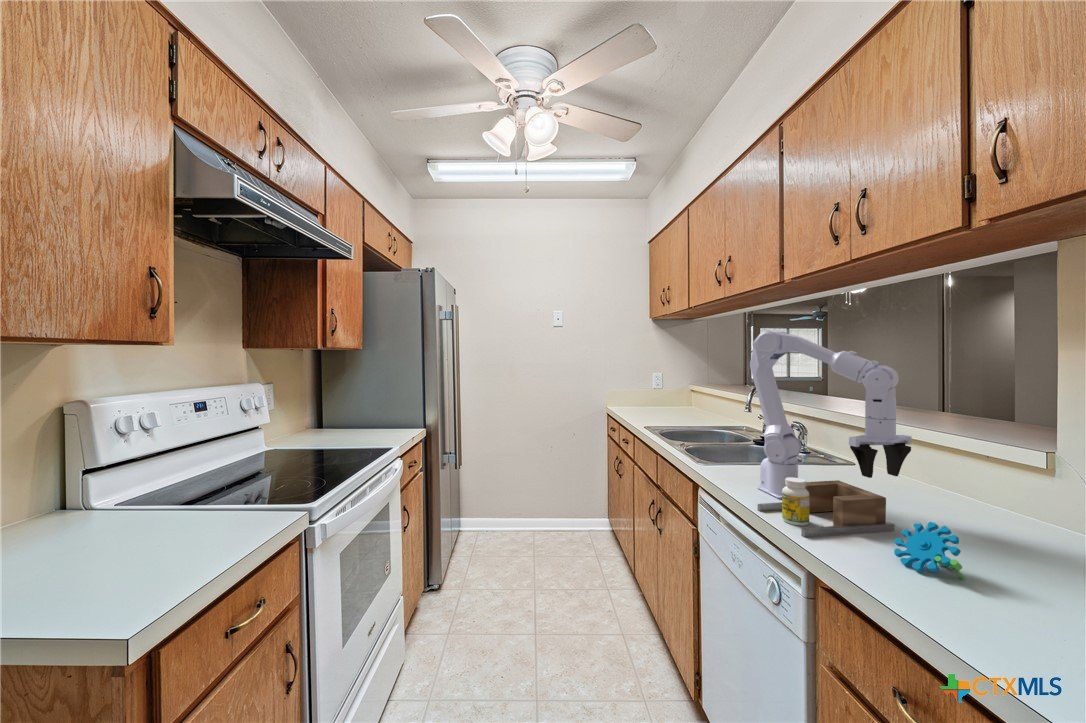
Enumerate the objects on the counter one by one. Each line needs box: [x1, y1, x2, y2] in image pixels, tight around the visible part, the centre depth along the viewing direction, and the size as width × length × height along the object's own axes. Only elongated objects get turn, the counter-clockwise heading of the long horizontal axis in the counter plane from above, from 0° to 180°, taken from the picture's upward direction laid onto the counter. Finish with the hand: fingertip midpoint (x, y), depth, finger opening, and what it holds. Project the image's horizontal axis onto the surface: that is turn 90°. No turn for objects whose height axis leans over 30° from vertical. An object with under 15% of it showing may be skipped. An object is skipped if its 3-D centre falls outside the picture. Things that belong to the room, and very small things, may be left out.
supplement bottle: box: [781, 477, 810, 527], centre depth 100 cm, size 5×5×10 cm
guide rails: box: [757, 501, 895, 538], centre depth 101 cm, size 16×21×2 cm
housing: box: [804, 479, 887, 526], centre depth 101 cm, size 13×10×6 cm
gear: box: [893, 521, 966, 581], centre depth 78 cm, size 11×6×10 cm
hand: (879, 475), depth 102 cm, fingers open, 6 cm apart
